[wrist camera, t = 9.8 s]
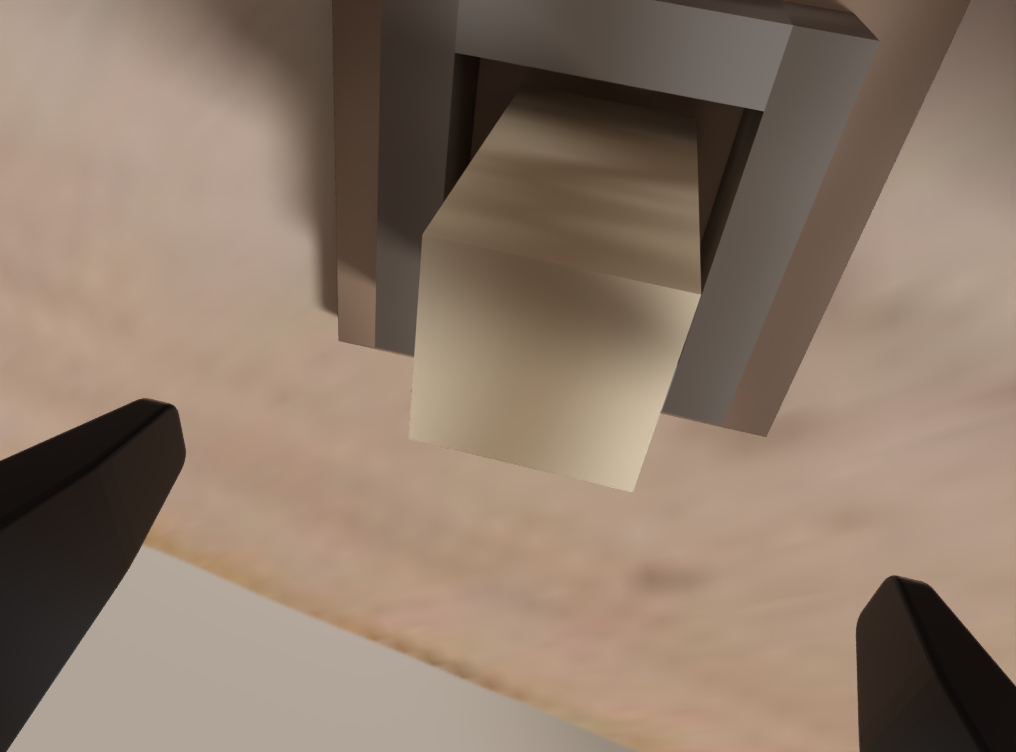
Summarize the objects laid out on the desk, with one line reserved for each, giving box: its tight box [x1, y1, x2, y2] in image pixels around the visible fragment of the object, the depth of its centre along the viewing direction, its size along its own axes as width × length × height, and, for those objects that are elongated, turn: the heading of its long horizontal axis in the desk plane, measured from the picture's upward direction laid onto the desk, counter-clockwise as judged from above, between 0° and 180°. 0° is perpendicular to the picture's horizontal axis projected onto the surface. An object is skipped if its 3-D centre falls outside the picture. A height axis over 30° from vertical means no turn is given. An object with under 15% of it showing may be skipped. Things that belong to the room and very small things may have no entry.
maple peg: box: [409, 84, 701, 492], centre depth 15 cm, size 4×4×8 cm
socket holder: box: [332, 0, 971, 437], centre depth 17 cm, size 13×13×4 cm
